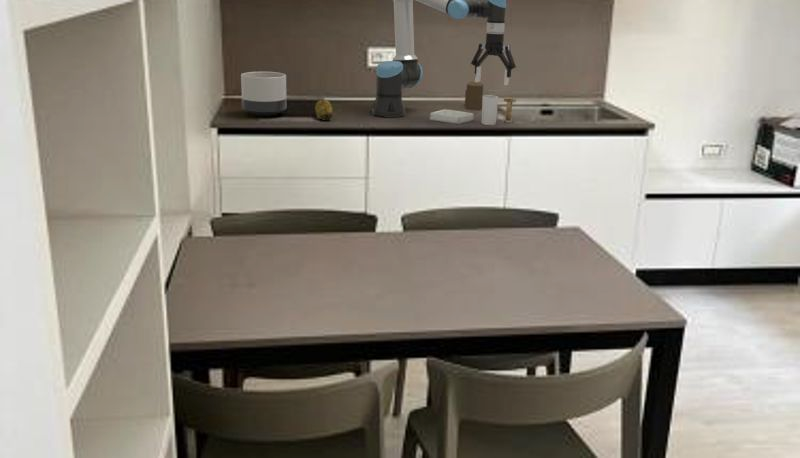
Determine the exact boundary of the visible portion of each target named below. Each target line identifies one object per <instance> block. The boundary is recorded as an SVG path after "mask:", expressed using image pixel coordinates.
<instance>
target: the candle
mask: <svg viewBox="0 0 800 458" xmlns="http://www.w3.org/2000/svg"><path fill="white" fill-rule="evenodd" d="M483 96H484V84H483V83H482V82H481V81H480V82H476V77H475V78H474V81H473V80H472V81H469V82H468V83H467V84H466V90H465V95H464V97H465V99H464V107H465V108H466V110H469V111H481V110H482V98H483ZM480 109H481V110H480Z"/></svg>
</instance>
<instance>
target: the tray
mask: <svg viewBox="0 0 800 458" xmlns="http://www.w3.org/2000/svg"><path fill="white" fill-rule="evenodd" d="M474 117H475V113H473V112H466V111H460V110H453V109H445V108H444V109H440V110H438V111H432V112H430V113H429V120H430V121H435V122H436V121H437V122H442V123H447V124H455V125H462V124H465V123H469V122H471V121H474V120H475V119H474Z"/></svg>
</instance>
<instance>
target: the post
mask: <svg viewBox="0 0 800 458" xmlns="http://www.w3.org/2000/svg"><path fill="white" fill-rule="evenodd" d="M503 102H506V107H505V108H506V110H505V111H506V112H505V118H504V119H503V122H504V121H513V122H514V120H513V119H512V112H513V111H512V110H513V103H517V99H516V98H512V97H504V98H503Z"/></svg>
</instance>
